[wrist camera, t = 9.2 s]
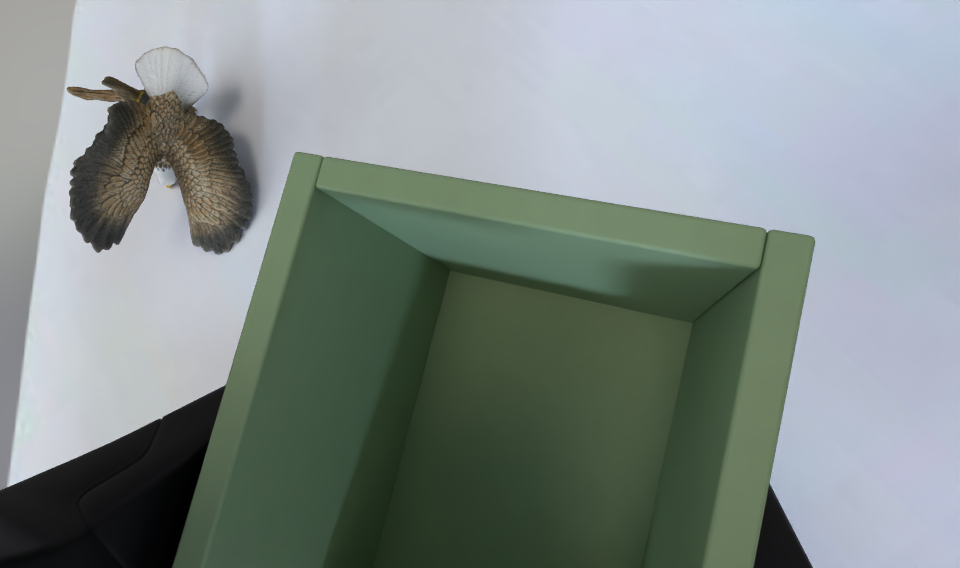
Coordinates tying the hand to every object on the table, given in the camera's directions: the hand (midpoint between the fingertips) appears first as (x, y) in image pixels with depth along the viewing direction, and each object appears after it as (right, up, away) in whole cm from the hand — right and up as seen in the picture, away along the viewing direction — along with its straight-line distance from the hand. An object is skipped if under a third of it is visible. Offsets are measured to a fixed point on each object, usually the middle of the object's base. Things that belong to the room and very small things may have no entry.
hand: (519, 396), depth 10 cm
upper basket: (0, -2, +3) cm, 4 cm away
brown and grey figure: (-16, +8, +20) cm, 27 cm away
